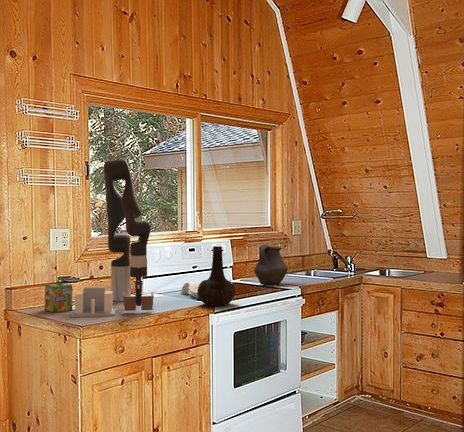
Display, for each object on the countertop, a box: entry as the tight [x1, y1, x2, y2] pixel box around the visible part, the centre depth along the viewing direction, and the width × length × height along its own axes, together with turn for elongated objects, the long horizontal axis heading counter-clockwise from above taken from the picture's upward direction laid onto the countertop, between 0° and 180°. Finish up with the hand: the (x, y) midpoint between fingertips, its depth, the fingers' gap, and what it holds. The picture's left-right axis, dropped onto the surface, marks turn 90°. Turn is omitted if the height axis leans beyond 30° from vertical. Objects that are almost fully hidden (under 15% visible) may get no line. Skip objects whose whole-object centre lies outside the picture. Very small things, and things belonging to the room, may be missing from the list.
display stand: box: [70, 285, 117, 318], centre depth 244 cm, size 14×18×11 cm
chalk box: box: [44, 276, 73, 313], centre depth 253 cm, size 9×9×15 cm
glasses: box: [123, 291, 155, 312], centre depth 252 cm, size 14×13×6 cm
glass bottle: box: [198, 245, 236, 307], centre depth 268 cm, size 18×18×28 cm
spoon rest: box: [180, 281, 200, 299], centre depth 297 cm, size 24×12×7 cm, turn 36°
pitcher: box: [254, 244, 288, 286], centre depth 343 cm, size 21×22×25 cm
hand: (138, 305), depth 246 cm, fingers closed on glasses, 2 cm apart
